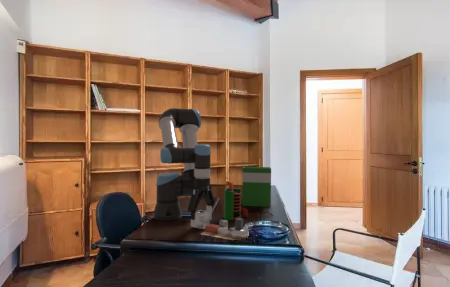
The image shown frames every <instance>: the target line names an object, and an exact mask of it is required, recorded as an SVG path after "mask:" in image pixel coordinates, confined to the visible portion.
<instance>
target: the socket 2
mask: <svg viewBox="0 0 450 287" xmlns="http://www.w3.org/2000/svg"><path fill="white" fill-rule="evenodd" d="M218 225H220V226H221V227H225V228H229V220H226V219H220V220H219V221H218Z"/></svg>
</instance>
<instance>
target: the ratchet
mask: <svg viewBox="0 0 450 287" xmlns="http://www.w3.org/2000/svg"><path fill="white" fill-rule="evenodd" d="M234 224H235V225H234V226H232V227H228V228H225V227H221V226H220V225H219V224H213V223H210V224H208V225H206V226H205V229H204V230H205V231H204V232H209V233H214V234H221V235H227V236H230V237H231V238H233V239H238V240H241V239H246V238H248V236H249V232H250V231H249V230H250V229H249V228H248V227H245V226H244V218H243V217H241V218H237V219H235V220H234Z"/></svg>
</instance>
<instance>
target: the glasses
mask: <svg viewBox="0 0 450 287" xmlns="http://www.w3.org/2000/svg"><path fill="white" fill-rule="evenodd" d="M250 208H253V206H242V205H241V210H240V214H241V213H243V215H245V217H246V218H248V217H249V215H253V214H255V215H257V214H258V212H251V213H249V210H248V209H250ZM256 208H257V209H259V210H260V211H262V209H261V208H260V207H259V206H256ZM259 214H269V215H271V216H274V215H273V213H271V212H268V211H262V212H259Z"/></svg>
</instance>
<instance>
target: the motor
mask: <svg viewBox="0 0 450 287" xmlns="http://www.w3.org/2000/svg"><path fill="white" fill-rule="evenodd" d="M225 186H229V188H228V187H227V188H225V189H224V194H223V196H224V197H223V202H224V203H223V220H228V221H235V219H237V218H242V217H241V216H242V215H241V213H240V210H241V206H242V189H241V188H237V187H236V188H235V187H234V184H233V181H231V180H227V181H226V182H225Z"/></svg>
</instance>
